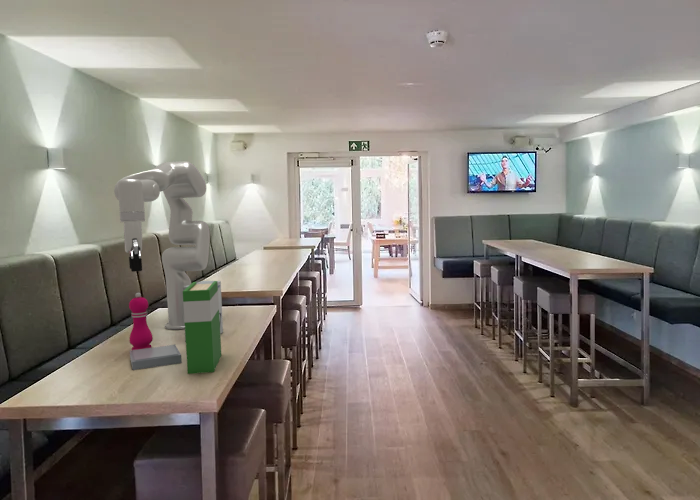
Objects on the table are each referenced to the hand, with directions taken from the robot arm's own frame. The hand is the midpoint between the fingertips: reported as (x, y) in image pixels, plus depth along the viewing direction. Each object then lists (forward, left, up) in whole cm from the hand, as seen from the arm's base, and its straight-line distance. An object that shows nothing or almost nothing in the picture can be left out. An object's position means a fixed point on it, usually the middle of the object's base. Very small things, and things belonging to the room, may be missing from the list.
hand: (135, 269), depth 178 cm
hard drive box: (-8, +22, -28) cm, 37 cm away
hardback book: (+24, +17, -28) cm, 41 cm away
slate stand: (+13, +3, -28) cm, 31 cm away
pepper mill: (0, 0, -28) cm, 28 cm away
